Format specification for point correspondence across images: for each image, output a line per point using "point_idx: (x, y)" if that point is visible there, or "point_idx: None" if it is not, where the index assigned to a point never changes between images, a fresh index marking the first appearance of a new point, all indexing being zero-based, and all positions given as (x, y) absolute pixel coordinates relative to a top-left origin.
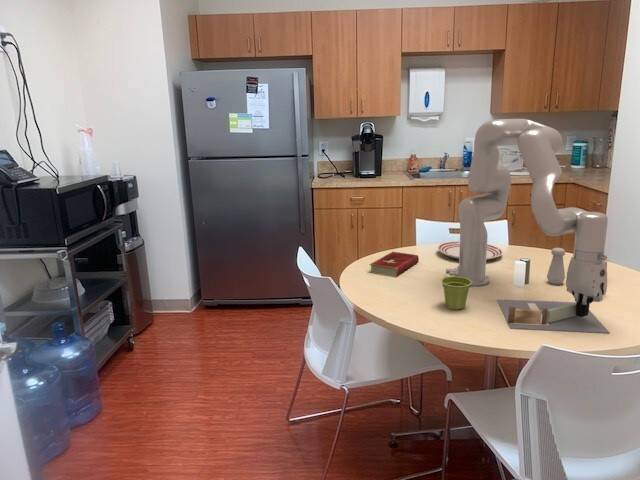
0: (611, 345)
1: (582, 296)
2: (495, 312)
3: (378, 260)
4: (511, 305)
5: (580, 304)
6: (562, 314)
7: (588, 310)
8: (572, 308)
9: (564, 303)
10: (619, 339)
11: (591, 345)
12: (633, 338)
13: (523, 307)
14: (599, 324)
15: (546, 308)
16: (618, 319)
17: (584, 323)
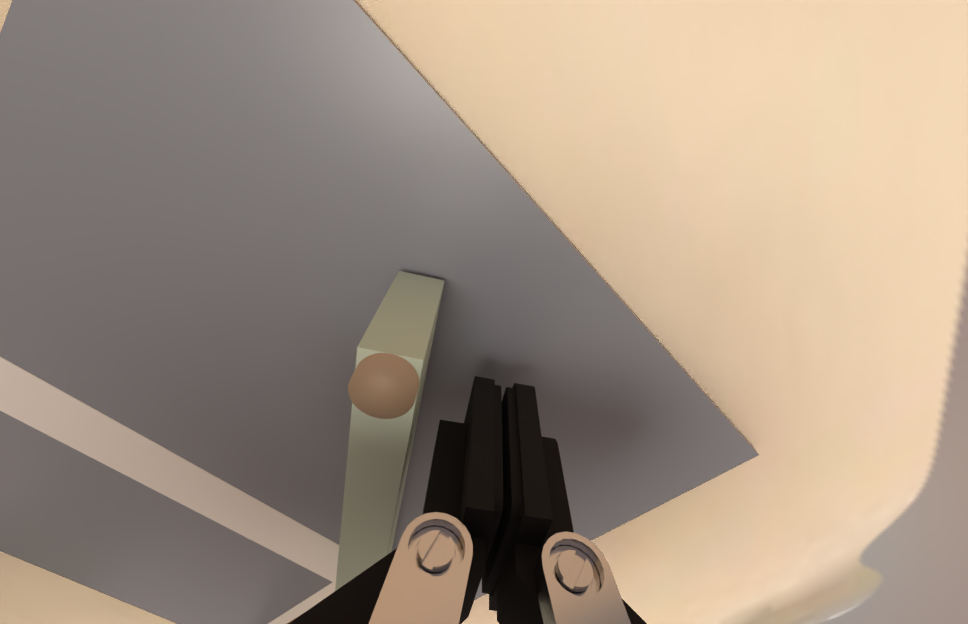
0: (785, 563)
1: (435, 618)
2: (97, 604)
3: None
4: (6, 505)
5: (495, 606)
6: (392, 538)
7: (559, 469)
8: (400, 492)
9: (69, 86)
10: (828, 480)
11: (687, 611)
12: (934, 407)
13: (71, 481)
14: (653, 377)
15: (151, 382)
16: (797, 43)
17: (548, 436)
